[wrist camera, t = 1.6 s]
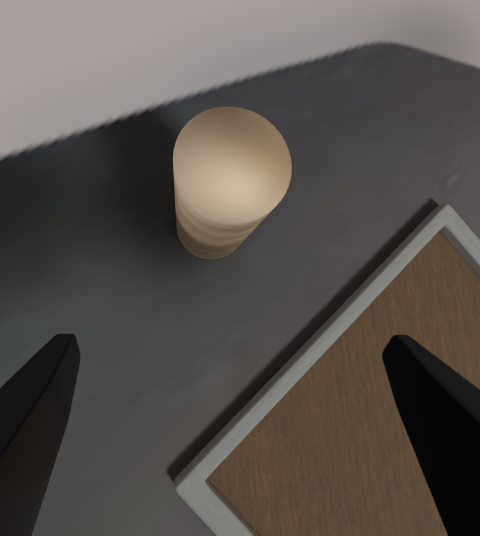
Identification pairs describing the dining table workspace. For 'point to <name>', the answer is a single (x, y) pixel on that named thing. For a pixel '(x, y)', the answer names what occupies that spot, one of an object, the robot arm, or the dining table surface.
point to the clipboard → (347, 407)
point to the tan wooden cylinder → (226, 178)
